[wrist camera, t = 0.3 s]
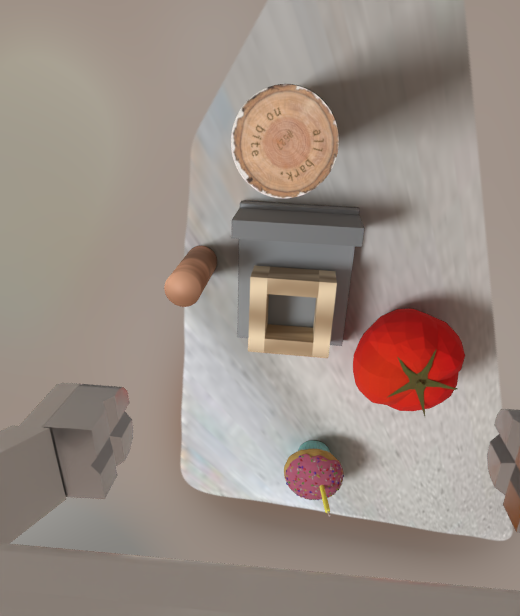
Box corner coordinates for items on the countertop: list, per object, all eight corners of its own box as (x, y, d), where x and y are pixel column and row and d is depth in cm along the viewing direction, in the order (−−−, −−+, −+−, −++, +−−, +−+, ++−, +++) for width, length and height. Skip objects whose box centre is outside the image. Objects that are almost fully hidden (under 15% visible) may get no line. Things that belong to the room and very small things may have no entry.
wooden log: (339, 121, 51) (362, 141, 28) (296, 167, 53) (285, 220, 31) (296, 75, 49) (283, 57, 27) (253, 124, 52) (208, 146, 29)
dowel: (186, 244, 59) (163, 271, 50) (217, 246, 58) (199, 274, 49) (187, 274, 60) (165, 305, 51) (217, 276, 60) (200, 308, 51)
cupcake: (337, 427, 68) (341, 490, 57) (345, 471, 72) (351, 537, 61) (280, 434, 70) (275, 496, 59) (291, 476, 73) (288, 542, 62)
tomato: (463, 355, 61) (495, 408, 51) (370, 391, 65) (381, 447, 55) (429, 278, 57) (456, 319, 47) (332, 321, 61) (336, 368, 51)
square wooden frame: (254, 265, 57) (250, 276, 53) (335, 271, 56) (337, 283, 53) (251, 336, 61) (248, 351, 58) (327, 342, 60) (328, 358, 57)
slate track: (241, 200, 56) (231, 215, 49) (358, 207, 54) (364, 223, 48) (238, 332, 63) (230, 360, 56) (341, 340, 62) (344, 370, 55)
